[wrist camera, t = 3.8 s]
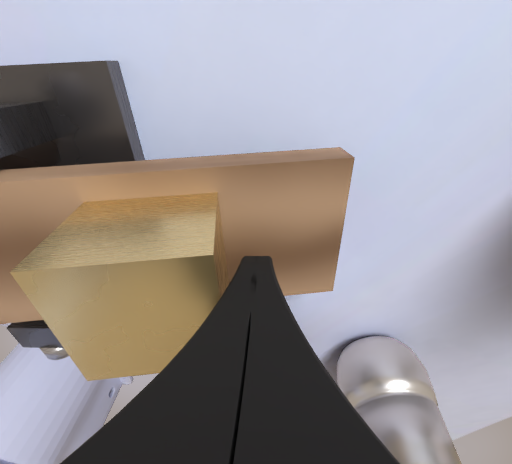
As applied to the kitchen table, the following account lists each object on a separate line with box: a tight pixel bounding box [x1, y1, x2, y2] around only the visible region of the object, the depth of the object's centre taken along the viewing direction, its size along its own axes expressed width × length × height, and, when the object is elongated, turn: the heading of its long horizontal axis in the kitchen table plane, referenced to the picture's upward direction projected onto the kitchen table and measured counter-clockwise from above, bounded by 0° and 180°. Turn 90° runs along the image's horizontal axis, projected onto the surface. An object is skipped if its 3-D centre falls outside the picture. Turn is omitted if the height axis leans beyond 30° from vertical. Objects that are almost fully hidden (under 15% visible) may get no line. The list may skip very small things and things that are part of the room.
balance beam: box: [0, 147, 354, 324], centre depth 13 cm, size 7×30×4 cm, turn 92°
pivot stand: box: [0, 61, 145, 360], centre depth 13 cm, size 14×10×6 cm
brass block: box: [10, 192, 229, 381], centre depth 10 cm, size 5×5×4 cm
